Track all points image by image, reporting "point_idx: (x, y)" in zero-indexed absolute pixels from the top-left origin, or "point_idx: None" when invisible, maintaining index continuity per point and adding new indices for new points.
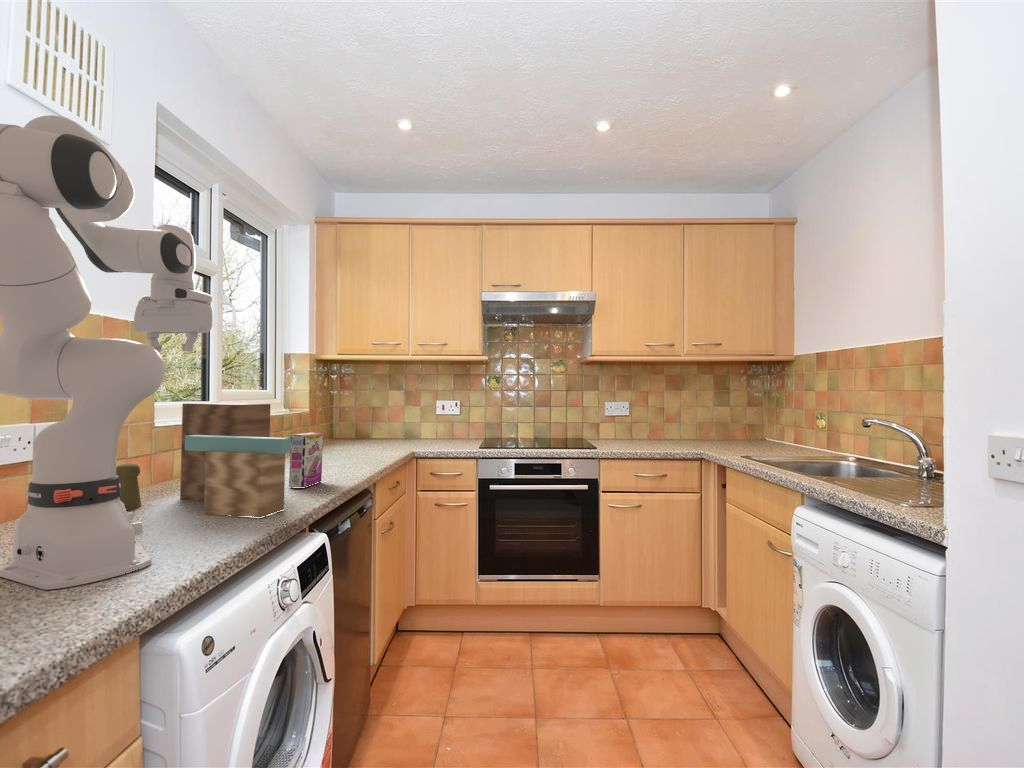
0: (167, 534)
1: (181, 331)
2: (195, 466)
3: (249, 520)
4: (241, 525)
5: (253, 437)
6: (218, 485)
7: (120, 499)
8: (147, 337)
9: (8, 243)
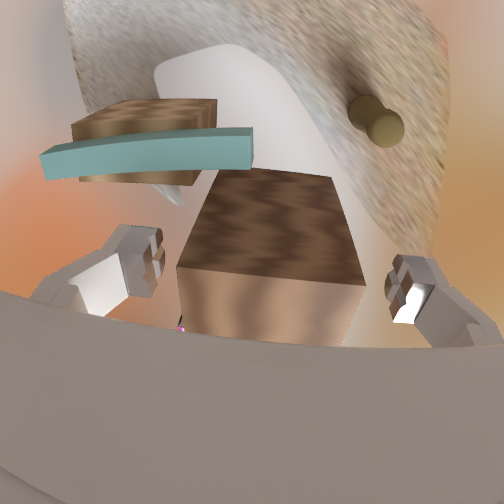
0: (178, 6)
1: (78, 311)
2: (306, 198)
3: (130, 91)
4: (122, 68)
5: (95, 159)
6: (177, 106)
7: (367, 100)
8: (488, 319)
9: None
